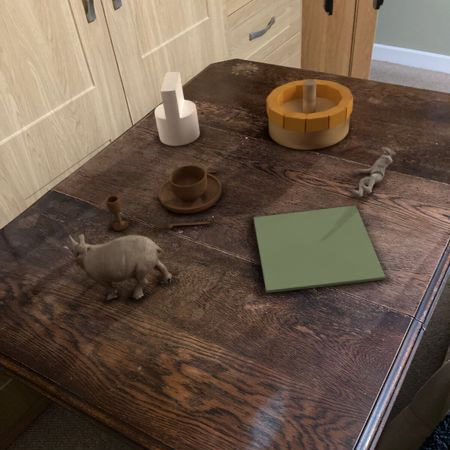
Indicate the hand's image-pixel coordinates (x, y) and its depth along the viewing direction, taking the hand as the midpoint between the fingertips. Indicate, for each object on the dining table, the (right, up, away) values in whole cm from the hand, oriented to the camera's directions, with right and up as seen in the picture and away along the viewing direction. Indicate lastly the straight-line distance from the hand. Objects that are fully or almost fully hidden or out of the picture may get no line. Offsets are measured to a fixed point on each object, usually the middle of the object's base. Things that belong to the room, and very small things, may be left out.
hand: (352, 11), depth 90 cm
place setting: (-34, -34, +4) cm, 48 cm away
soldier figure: (+4, -31, +1) cm, 31 cm away
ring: (-6, -13, +13) cm, 20 cm away
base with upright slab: (-33, -16, +20) cm, 42 cm away
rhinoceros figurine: (-40, -50, -10) cm, 65 cm away
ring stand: (-5, -16, +16) cm, 23 cm away
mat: (-9, -44, -9) cm, 46 cm away
